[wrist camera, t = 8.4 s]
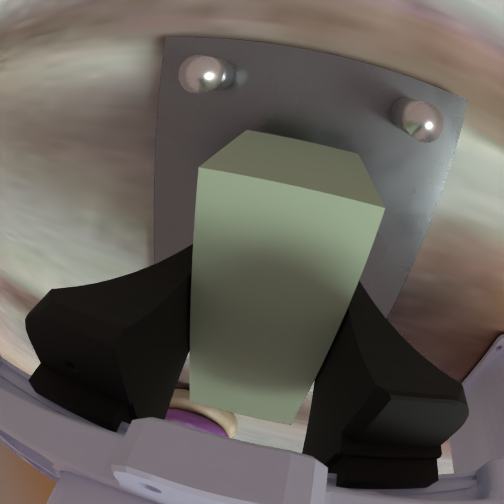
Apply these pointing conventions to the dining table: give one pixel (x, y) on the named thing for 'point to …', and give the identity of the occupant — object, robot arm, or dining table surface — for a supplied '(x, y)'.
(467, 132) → the dining table surface
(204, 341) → the block
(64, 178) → the dining table surface
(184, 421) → the stacking toy
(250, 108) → the plate
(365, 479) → the robot arm
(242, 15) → the dining table surface
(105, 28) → the dining table surface
